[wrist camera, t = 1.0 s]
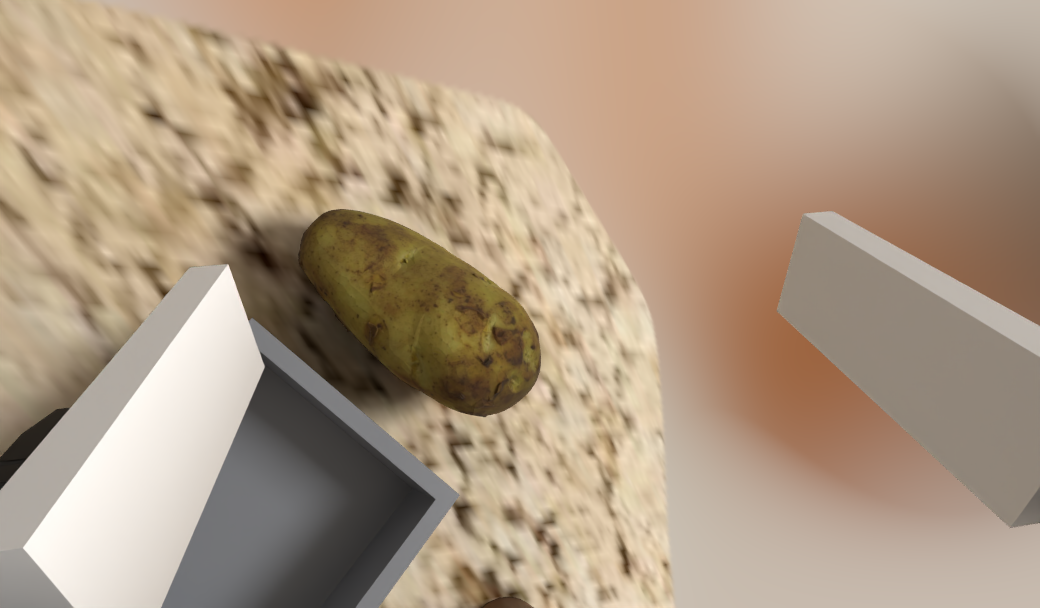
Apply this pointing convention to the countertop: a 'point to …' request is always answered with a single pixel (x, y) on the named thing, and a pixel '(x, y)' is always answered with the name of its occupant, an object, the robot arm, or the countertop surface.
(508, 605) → the pepper mill
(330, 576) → the tub
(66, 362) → the countertop surface
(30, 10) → the countertop surface
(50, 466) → the robot arm
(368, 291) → the potato
